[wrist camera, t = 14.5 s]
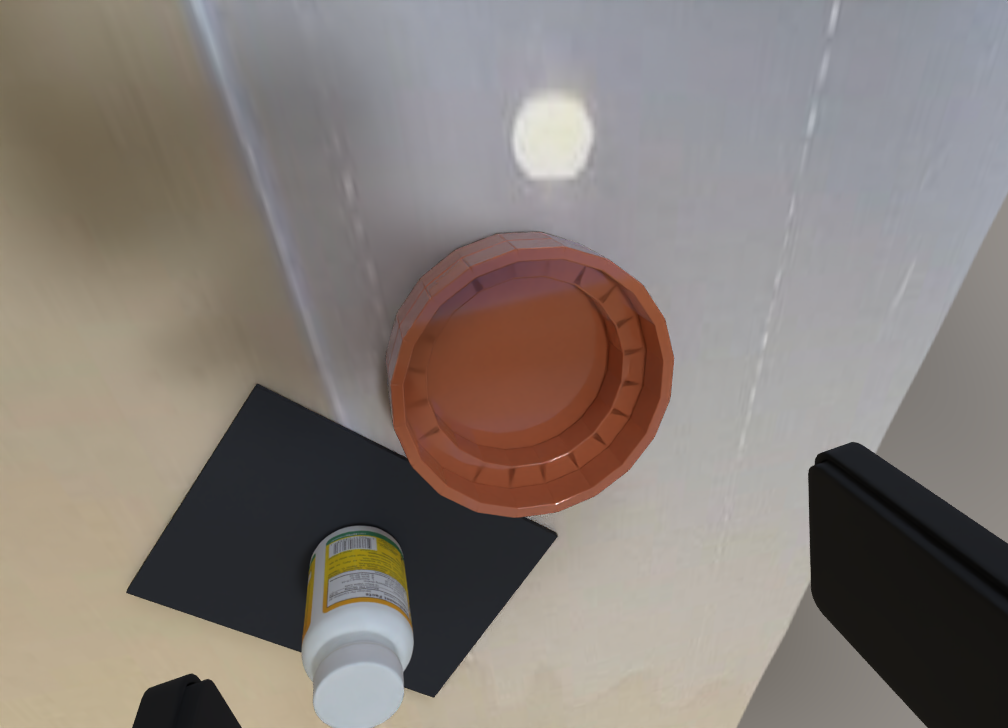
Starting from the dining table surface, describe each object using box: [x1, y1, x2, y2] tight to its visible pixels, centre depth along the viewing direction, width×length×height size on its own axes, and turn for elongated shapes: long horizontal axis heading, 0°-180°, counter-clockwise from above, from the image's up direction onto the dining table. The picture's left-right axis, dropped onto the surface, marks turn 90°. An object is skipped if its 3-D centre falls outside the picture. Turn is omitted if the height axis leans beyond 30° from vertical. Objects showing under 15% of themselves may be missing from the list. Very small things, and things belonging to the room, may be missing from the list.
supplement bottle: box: [302, 526, 414, 728], centre depth 33 cm, size 5×5×10 cm
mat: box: [126, 384, 558, 697], centre depth 38 cm, size 20×14×1 cm
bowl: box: [386, 232, 674, 518], centre depth 34 cm, size 14×14×4 cm
